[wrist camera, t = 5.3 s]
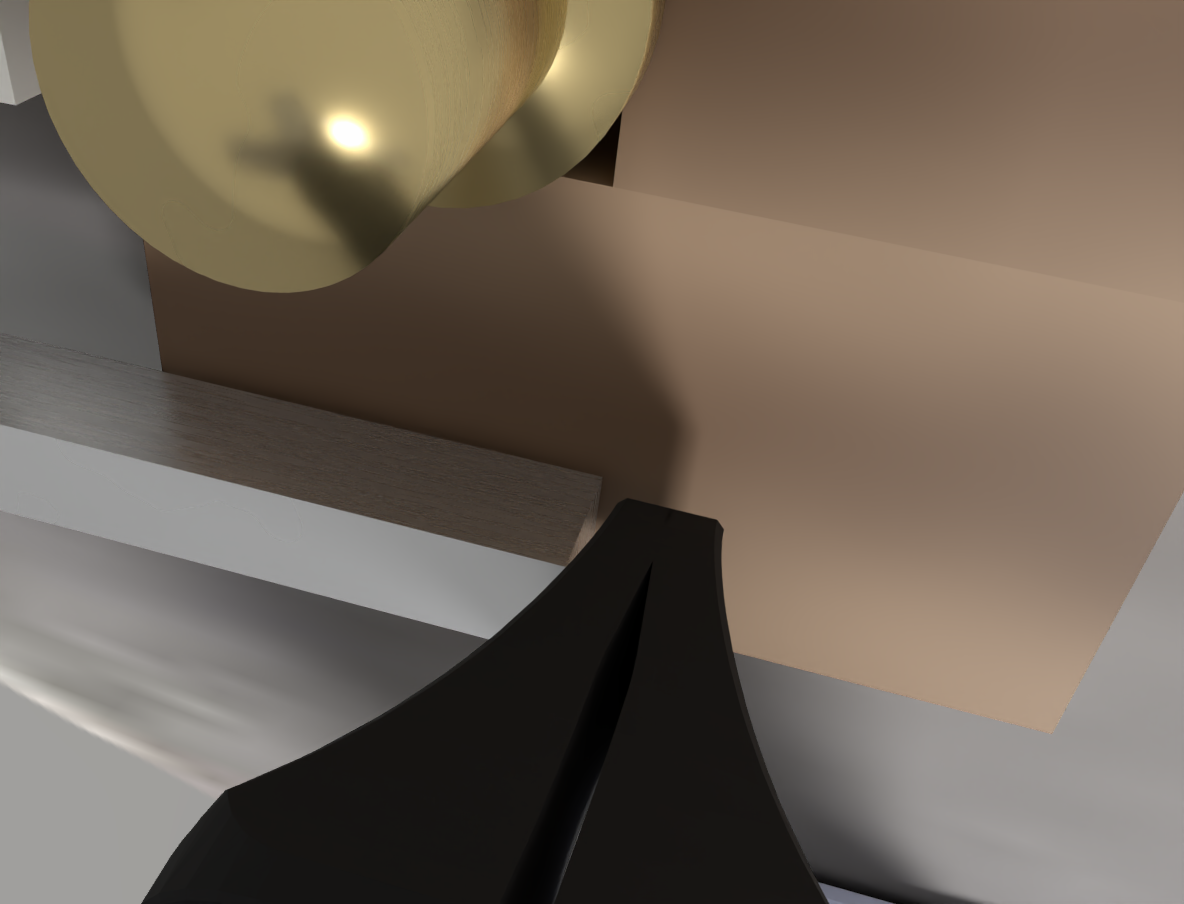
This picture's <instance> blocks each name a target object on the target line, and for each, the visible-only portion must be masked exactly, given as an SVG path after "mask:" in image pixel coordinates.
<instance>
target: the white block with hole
mask: <svg viewBox="0 0 1184 904" xmlns="http://www.w3.org/2000/svg"><path fill="white" fill-rule="evenodd" d="M39 94H41V90H40V87H39V83H38V79H37V75H36V71H35V67H34V63H33V57H32V50H31V42H30V35H29V0H0V102H1V103H6V104H11V105H18V104H20V103H22V102H24V101H26V100H28V99H30V98H33V97H35V96H37V95H39Z"/></svg>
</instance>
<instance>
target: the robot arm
mask: <svg viewBox="0 0 1184 904" xmlns="http://www.w3.org/2000/svg"><path fill="white" fill-rule="evenodd" d="M723 532H724V528H723V527H722V526H721V524H720V523H719V521H718V520H716V519H712V518H708V517H704V516H700V515H696V514H692V513H688V512H683V511H679V510H675V509H671V508H667V507H663V506H659V505H655V504H651V503H646V502H642V501H638V500H634V499H630V498H626V499H624V500H622V501H620V502H618V503H617V504H616V506H615V507H614V509H613V510H612V512H611V513H610V515H609V516H608V518H607V519H606V520H605V522H604V523H603V524H602V526H601V527H600V528H599V529H598V531H597V532H596V533H595V534H594V536H593V537H592V538H591V539H590V541H589V542H588V543H587V544H586V545H585V546H584V547H583V549H582V550H581V551H580V552H579V553H578V554H577V555H576V557H575V558H574V559H573V560H572V561H571V562H570V563H569V564H568V565H567V566H566V567H565V568H564V569H563V570H562V571H561V572H560V574H559V575H558V576H557V577H556V578H555V579H554V580H553V581H552V582H551V583H550V584H549V585H548V586H547V587H546V588H545V589H544V590H543V591H542V592H541V593H540V594H539V595H538V596H537V597H536V598H535V599H534V600H533V601H532V602H531V603H529V604H528V605H527V606H526V607H525V608H524V609H523V610H522V611H521V612H520V613H518V614H517V615H516V616H515V617H514V618H513V619H512V620H511V621H510V622H508V623H507V624H506V625H505V626H504V627H503V628H502V629H501V630H500V631H498V632H497V633H496V634H495V635H494V636H493V637H491V638H490V639H489V640H488V641H486V642H485V643H484V644H483V645H482V646H480V647H479V648H478V649H477V650H475V651H474V652H473V653H471V654H470V655H469V656H468V657H466V658H465V659H464V660H462V661H461V662H460V663H458V664H457V665H456V666H454V667H453V668H452V669H450V670H449V671H448V672H446V673H445V674H443V675H442V676H441V677H439V678H438V679H436V680H435V681H433V682H432V683H430V684H429V685H427V686H426V687H424V688H423V689H421V690H420V691H418V692H417V693H415V694H414V695H412V696H411V697H409V698H408V699H406V700H405V701H403V702H402V703H400V704H398V705H397V706H395V707H394V708H392V709H390V710H389V711H387V712H385V713H384V714H382V715H380V716H379V717H377V718H375V719H373V720H372V721H370V722H368V723H366V724H364V725H362V726H360V727H359V728H357V729H355V730H353V731H351V732H349V733H348V734H346V735H344V736H342V737H340V738H338V739H336V740H335V741H333V742H331V743H329V744H327V745H325V746H323V747H322V748H320V749H318V750H316V751H314V752H312V753H310V754H308V755H306V756H303V757H301V758H299V759H297V760H295V761H292V762H290V763H288V764H286V765H283V766H281V767H279V768H276V769H274V770H272V771H270V772H267V773H265V774H263V775H260V776H258V777H256V778H254V779H251V780H249V781H247V782H244V783H242V784H240V785H237V786H235V787H232V788H230V789H227V790H225V791H224V793H223V794H222V795H221V796H220V797H219V798H218V799H217V800H216V801H215V802H214V803H213V805H212V806H211V807H210V808H209V809H208V810H207V812H206V813H205V814H204V815H203V816H202V817H201V818H200V820H199V821H198V822H197V824H196V825H195V826H194V827H193V829H192V830H191V831H190V832H189V833H188V834H187V835H186V837H185V838H184V839H183V840H182V842H181V843H180V844H179V846H178V847H177V849H176V850H175V851H174V853H173V854H172V855H171V857H170V858H169V860H168V862H167V863H166V865H165V866H164V868H163V870H162V871H161V873H160V875H159V876H158V878H157V879H156V881H155V883H154V884H153V886H152V887H151V889H150V890H149V892H148V894H147V895H146V897H145V898H144V900H143V902H142V903H141V904H894V903H891V902H887V901H883V900H880V899H876V898H873V897H869V896H866V895H862V894H859V893H855V892H852V891H848V890H845V889H841V888H837V887H834V886H830V885H827V884H823V883H820V882H817V880H816V878H815V876H814V874H813V872H812V870H811V868H810V866H809V864H808V862H807V860H806V858H805V856H804V853H803V851H802V849H801V847H800V845H799V843H798V841H797V838H796V836H795V834H794V832H793V830H792V828H791V825H790V823H789V821H788V819H787V817H786V815H785V813H784V810H783V808H782V806H781V804H780V801H779V799H778V796H777V794H776V791H775V789H774V786H773V783H772V781H771V778H770V776H769V773H768V771H767V768H766V765H765V762H764V760H763V757H762V754H761V751H760V748H759V745H758V742H757V739H756V736H755V733H754V730H753V727H752V724H751V720H750V717H749V714H748V710H747V707H746V703H745V699H744V695H743V692H742V688H741V684H740V680H739V676H738V672H737V667H736V663H735V658H734V654H733V649H732V643H731V637H730V632H729V626H728V621H727V615H726V608H725V600H724V590H723V579H722V539H723ZM588 807H589V808H588ZM587 810H588V811H587ZM586 812H587V814H586ZM585 815H586V817H585ZM584 817H585V819H584ZM583 820H584V822H583ZM582 822H583V825H582ZM581 825H582V828H581V831H580V834H579V836H578V839H577V842H576V845H575V848H574V850H573V853H572V856H571V858H570V861H569V864H568V866H567V863H568V860H569V857H570V854H571V851H572V849H573V846H574V843H575V840H576V837H577V835H578V832H579V830H580V827H581ZM566 866H567V869H566ZM565 869H566V872H565ZM564 872H565V875H564ZM563 875H564V877H563ZM562 878H563V880H562ZM561 882H562V883H561Z"/></svg>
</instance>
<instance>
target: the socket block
mask: <svg viewBox="0 0 1184 904" xmlns="http://www.w3.org/2000/svg"><path fill="white" fill-rule="evenodd" d="M143 242H144V249H145V255H146V262H147V269H148V276H149V283H150V290H151V296H152V303H153V310H154V317H155V324H156V331H157V337H158V344H159V351H160V358H161V365H162V372H166V373H170V374H174V375H178V376H183V377H187V378H191V379H195V380H199V381H203V382H208V383H212V384H216V385H220V386H224V387H229V388H233V389H237V390H241V391H245V392H249V393H254V394H258V395H262V396H266V397H270V398H274V399H279V400H283V401H287V402H291V403H295V404H300V405H304V406H308V407H312V408H316V409H320V410H325V411H329V412H333V413H337V414H341V415H345V416H350V417H354V418H358V419H362V420H366V421H371V422H375V423H379V424H383V425H387V426H391V427H396V428H400V429H404V430H408V431H412V432H416V433H421V434H425V435H429V436H433V437H437V438H442V439H446V440H450V441H454V442H458V443H462V444H467V445H471V446H475V447H479V448H483V449H487V450H492V451H496V452H500V453H504V454H508V455H513V456H517V457H521V458H525V459H529V460H533V461H538V462H542V463H546V464H550V465H554V466H559V467H563V468H567V469H571V470H575V471H579V472H584V473H588V474H592V475H596V476H600V477H602V484H601V491H600V498H599V505H598V512H597V519H596V526H595V533H596V532H597V531H598V529H599V528H600V527H601V526H602V524H603V523H604V522H605V520H606V519H607V518H608V516H609V515H610V513H611V512H612V510H613V509H614V507H615V506H616V504H617V503H618V502H620V501H622V500H624V499H626V498H630V499H634V500H638V501H642V502H646V503H651V504H655V505H659V506H663V507H667V508H671V509H675V510H679V511H683V512H688V513H692V514H696V515H700V516H704V517H708V518H712V519H716V520H718V521H719V523H720V524H721V526H722V527H723V528H724V532H723V539H722V579H723V590H724V600H725V608H726V615H727V621H728V626H729V632H730V637H731V643H732V649H733V652H735V653H739V654H743V655H747V656H750V657H754V658H758V659H762V660H766V661H770V662H774V663H778V664H782V665H785V666H789V667H793V668H797V669H801V670H805V671H809V672H813V673H817V674H820V675H824V676H828V677H832V678H836V679H840V680H844V681H848V682H852V683H855V684H859V685H863V686H867V687H871V688H875V689H879V690H883V691H887V692H890V693H894V694H898V695H902V696H906V697H910V698H914V699H918V700H922V701H925V702H929V703H933V704H937V705H941V706H945V707H949V708H953V709H957V710H960V711H964V712H968V713H972V714H976V715H980V716H984V717H988V718H992V719H995V720H999V721H1003V722H1007V723H1011V724H1015V725H1019V726H1023V727H1027V728H1030V729H1034V730H1038V731H1042V732H1046V733H1050V734H1052V733H1053V731H1054V729H1055V727H1056V726H1057V724H1058V722H1059V720H1060V718H1061V716H1062V715H1063V713H1064V711H1065V709H1066V707H1067V705H1068V704H1069V702H1070V700H1071V698H1072V696H1073V694H1074V692H1075V691H1076V689H1077V687H1078V685H1079V683H1080V681H1081V680H1082V678H1083V676H1084V674H1085V672H1086V670H1087V668H1088V667H1089V665H1090V663H1091V661H1092V659H1093V657H1094V656H1095V654H1096V652H1097V650H1098V648H1099V646H1100V645H1101V643H1102V641H1103V639H1104V637H1105V635H1106V633H1107V632H1108V630H1109V628H1110V626H1111V624H1112V622H1113V621H1114V619H1115V617H1116V615H1117V613H1118V611H1119V609H1120V608H1121V606H1122V604H1123V602H1124V600H1125V598H1126V597H1127V595H1128V593H1129V591H1130V589H1131V587H1132V586H1133V584H1134V582H1135V580H1136V578H1137V576H1138V574H1139V573H1140V571H1141V569H1142V567H1143V565H1144V563H1145V562H1146V560H1147V558H1148V556H1149V554H1150V552H1151V550H1152V549H1153V547H1154V545H1155V543H1156V541H1157V539H1158V538H1159V536H1160V534H1161V532H1162V530H1163V528H1164V527H1165V525H1166V523H1167V521H1168V519H1169V517H1170V515H1171V514H1172V512H1173V510H1174V508H1175V506H1176V504H1177V503H1178V501H1179V499H1180V497H1181V495H1182V493H1183V491H1184V0H666V4H665V9H664V14H663V19H662V24H661V29H660V34H659V37H658V40H657V43H656V46H655V49H654V52H653V55H652V58H651V61H650V63H649V65H648V67H647V69H646V72H645V74H644V76H643V78H642V80H641V82H640V84H639V86H638V88H637V89H636V91H635V92H634V94H633V95H632V97H631V98H630V100H629V101H628V103H627V104H626V106H625V107H624V109H623V110H622V112H621V113H620V115H619V116H618V117H617V119H616V120H615V122H614V123H613V124H612V126H611V127H610V129H609V130H608V131H607V133H606V134H605V136H604V137H603V138H602V139H601V140H600V141H599V143H598V144H597V145H596V146H595V147H594V148H593V149H592V150H591V151H590V153H589V154H588V155H587V156H586V157H585V158H584V159H583V160H581V161H580V162H579V163H578V164H577V165H575V166H574V167H573V168H572V169H570V170H569V171H568V172H567V173H566V174H564V175H563V176H561V177H560V178H558V179H556V180H555V181H553V182H551V183H550V184H548V185H546V186H545V187H543V188H541V189H539V190H537V191H534V192H532V193H530V194H527V195H525V196H523V197H520V198H518V199H514V200H510V201H506V202H503V203H499V204H495V205H489V206H481V207H473V208H440V207H433V206H427V207H426V208H425V209H424V210H423V211H422V212H421V213H420V214H419V215H418V216H417V217H416V218H415V220H414V221H413V222H412V223H411V224H410V225H409V226H408V227H407V228H406V229H405V230H404V231H403V232H402V233H401V234H400V235H399V236H398V237H397V239H396V240H395V241H394V242H393V243H392V244H391V245H390V246H389V247H388V248H387V249H386V250H385V251H384V252H383V253H382V254H381V255H380V256H379V257H377V258H376V259H375V260H374V261H373V262H372V263H371V264H370V265H368V266H367V267H365V268H364V269H362V270H361V271H359V272H357V273H356V274H354V275H353V276H351V277H349V278H347V279H344V280H342V281H340V282H337V283H335V284H333V285H330V286H326V287H322V288H318V289H314V290H310V291H301V292H291V293H277V292H261V291H255V290H249V289H243V288H239V287H236V286H232V285H229V284H225V283H222V282H218V281H216V280H213V279H211V278H209V277H206V276H204V275H201V274H199V273H196V272H194V271H192V270H191V269H189V268H187V267H185V266H183V265H181V264H179V263H178V262H176V261H174V260H172V259H171V258H169V257H168V256H166V255H165V254H163V253H162V252H160V251H159V250H157V249H156V248H154V247H153V246H151V245H150V244H149V243H147V242H146V241H145V240H144V239H143ZM595 533H594V534H595Z"/></svg>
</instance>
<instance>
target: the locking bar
mask: <svg viewBox="0 0 1184 904" xmlns="http://www.w3.org/2000/svg"><path fill="white" fill-rule="evenodd" d="M601 484H602V477H600V476H596V475H592V474H588V473H584V472H579V471H575V470H571V469H567V468H563V467H559V466H554V465H550V464H546V463H542V462H538V461H533V460H529V459H525V458H521V457H517V456H513V455H508V454H504V453H500V452H496V451H492V450H487V449H483V448H479V447H475V446H471V445H467V444H462V443H458V442H454V441H450V440H446V439H442V438H437V437H433V436H429V435H425V434H421V433H416V432H412V431H408V430H404V429H400V428H396V427H391V426H387V425H383V424H379V423H375V422H371V421H366V420H362V419H358V418H354V417H350V416H345V415H341V414H337V413H333V412H329V411H325V410H320V409H316V408H312V407H308V406H304V405H300V404H295V403H291V402H287V401H283V400H279V399H274V398H270V397H266V396H262V395H258V394H254V393H249V392H245V391H241V390H237V389H233V388H229V387H224V386H220V385H216V384H212V383H208V382H203V381H199V380H195V379H191V378H187V377H183V376H178V375H174V374H170V373H166V372H162V371H157V370H153V369H149V368H145V367H141V366H137V365H132V364H128V363H124V362H120V361H116V360H112V359H107V358H103V357H99V356H95V355H91V354H86V353H82V352H78V351H74V350H70V349H66V348H61V347H57V346H53V345H49V344H45V343H41V342H36V341H32V340H28V339H24V338H20V337H15V336H11V335H7V334H3V333H0V511H4V512H7V513H11V514H15V515H19V516H23V517H26V518H30V519H34V520H38V521H42V522H45V523H49V524H53V525H57V526H60V527H64V528H68V529H72V530H76V531H79V532H83V533H87V534H91V535H95V536H98V537H102V538H106V539H110V540H114V541H117V542H121V543H125V544H129V545H133V546H136V547H140V548H144V549H148V550H152V551H155V552H159V553H163V554H167V555H170V556H174V557H178V558H182V559H186V560H189V561H193V562H197V563H201V564H205V565H208V566H212V567H216V568H220V569H224V570H227V571H231V572H235V573H239V574H243V575H246V576H250V577H254V578H258V579H262V580H265V581H269V582H273V583H277V584H280V585H284V586H288V587H292V588H296V589H299V590H303V591H307V592H311V593H315V594H318V595H322V596H326V597H330V598H334V599H337V600H341V601H345V602H349V603H353V604H356V605H360V606H364V607H368V608H372V609H375V610H379V611H383V612H387V613H390V614H394V615H398V616H402V617H406V618H409V619H413V620H417V621H421V622H425V623H428V624H432V625H436V626H440V627H444V628H447V629H451V630H455V631H459V632H463V633H466V634H470V635H474V636H478V637H482V638H485V639H490V638H491V637H493V636H494V635H495V634H496V633H497V632H498V631H500V630H501V629H502V628H503V627H504V626H505V625H506V624H507V623H508V622H510V621H511V620H512V619H513V618H514V617H515V616H516V615H517V614H518V613H520V612H521V611H522V610H523V609H524V608H525V607H526V606H527V605H528V604H529V603H531V602H532V601H533V600H534V599H535V598H536V597H537V596H538V595H539V594H540V593H541V592H542V591H543V590H544V589H545V588H546V587H547V586H548V585H549V584H550V583H551V582H552V581H553V580H554V579H555V578H556V577H557V576H558V575H559V574H560V572H561V571H562V570H563V569H564V568H565V567H566V566H567V565H568V564H569V563H570V562H571V561H572V560H573V559H574V558H575V557H576V555H577V554H578V553H579V552H580V551H581V550H582V549H583V547H584V546H585V545H586V544H587V543H588V542H589V541H590V539H591V538H592V537H593V536H594V533H595V526H596V519H597V512H598V505H599V498H600V491H601Z"/></svg>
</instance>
